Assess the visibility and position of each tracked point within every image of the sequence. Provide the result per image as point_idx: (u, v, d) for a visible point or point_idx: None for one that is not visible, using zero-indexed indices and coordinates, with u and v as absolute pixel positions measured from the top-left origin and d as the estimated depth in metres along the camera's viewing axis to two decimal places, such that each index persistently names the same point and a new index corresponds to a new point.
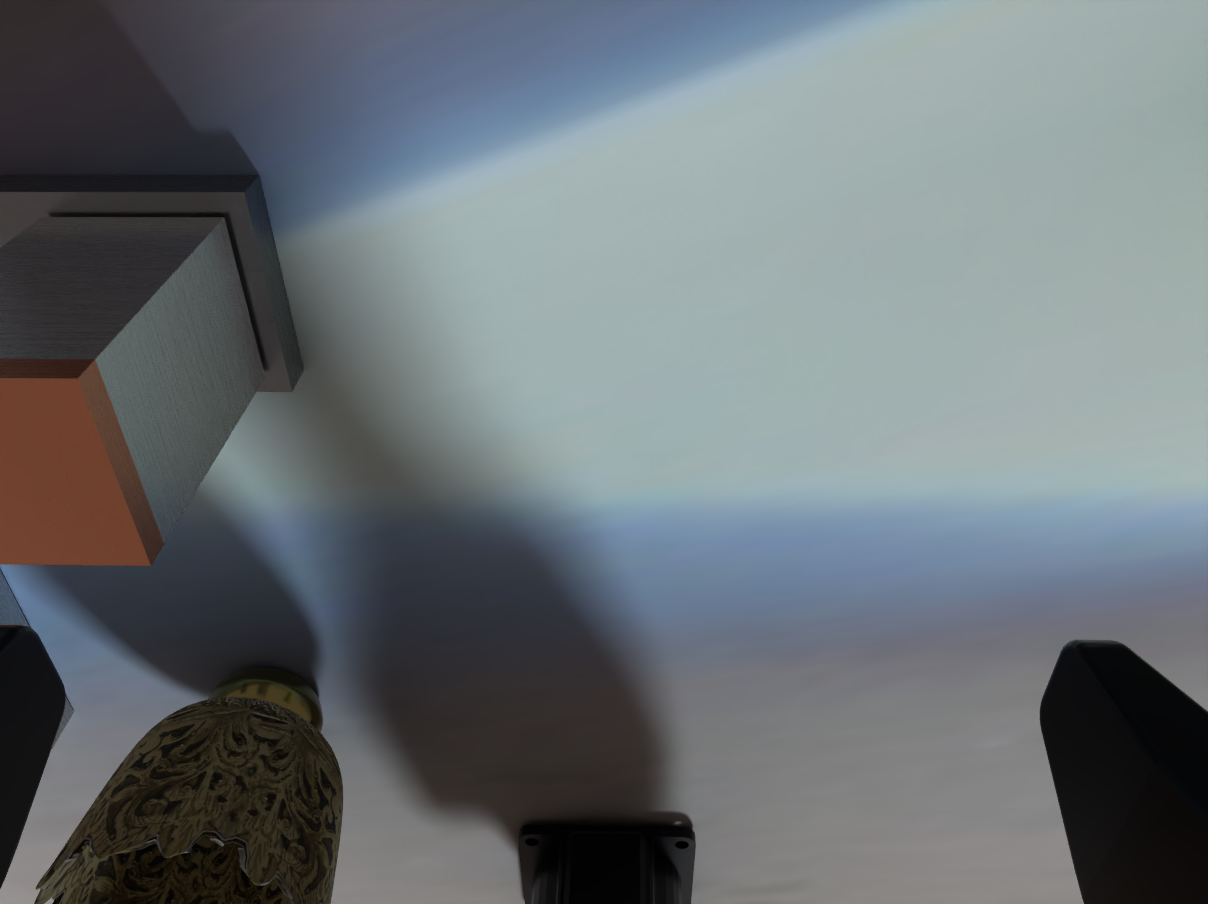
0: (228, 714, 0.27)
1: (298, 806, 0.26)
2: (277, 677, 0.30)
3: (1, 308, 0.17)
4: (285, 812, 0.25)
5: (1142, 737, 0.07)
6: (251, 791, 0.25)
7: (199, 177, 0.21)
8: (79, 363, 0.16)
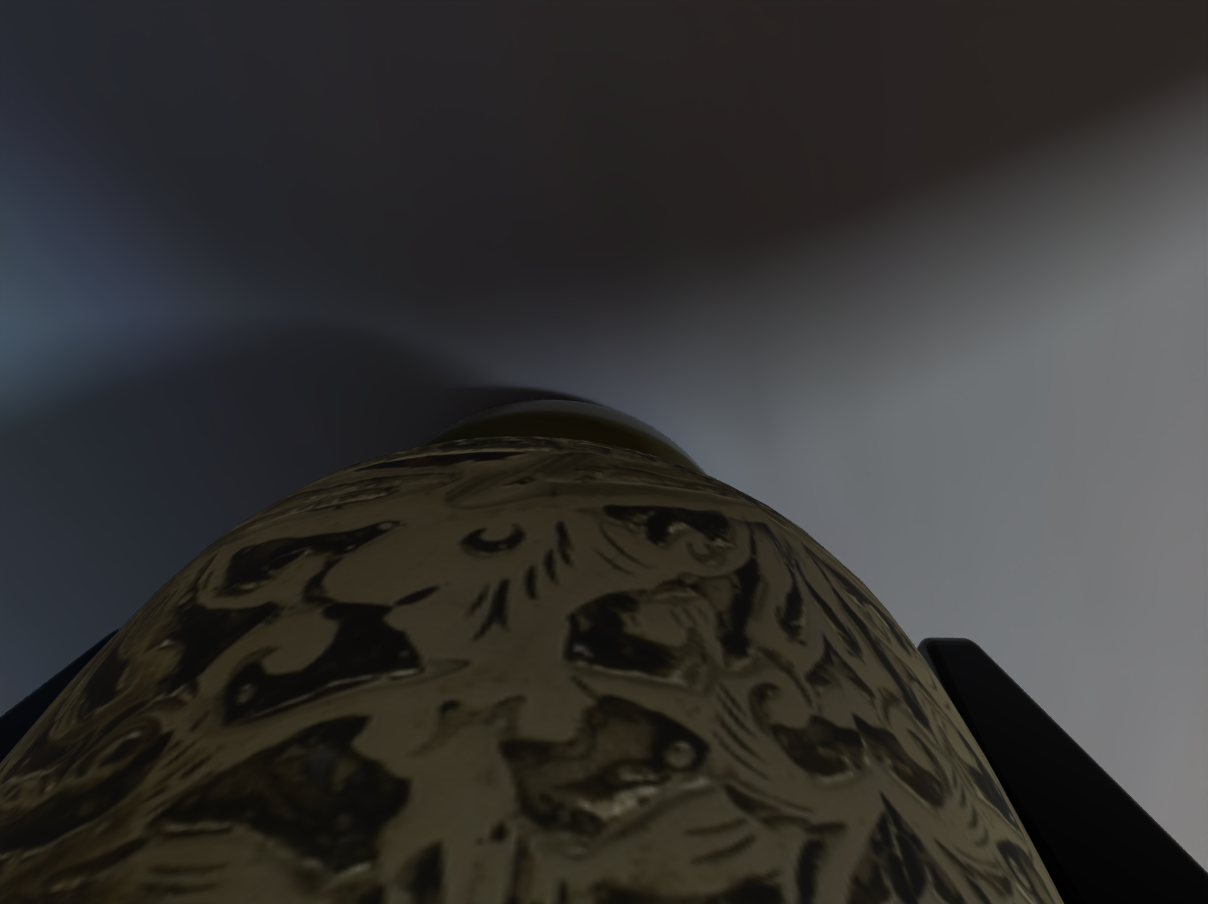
0: None
1: None
2: None
3: None
4: None
5: (972, 734, 0.07)
6: None
7: None
8: None
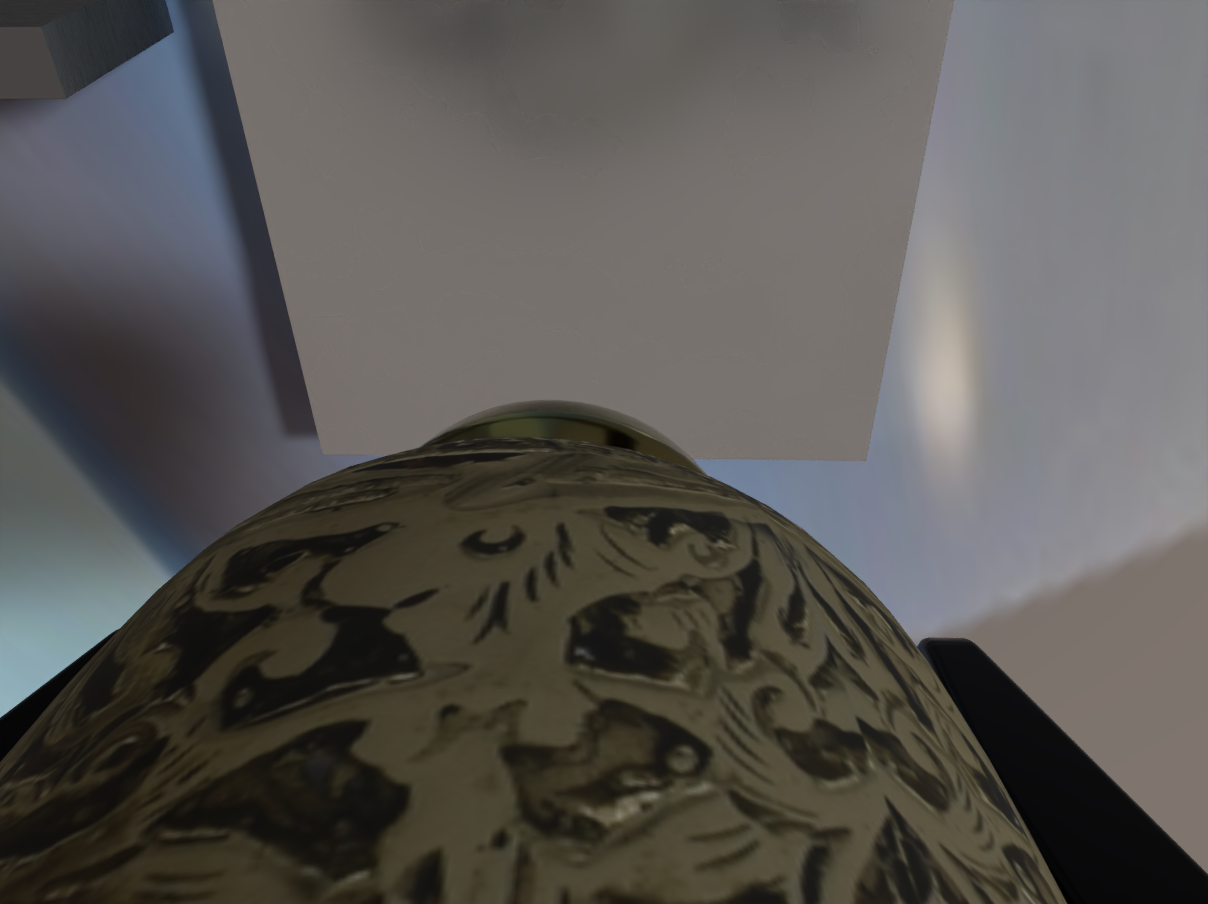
0: None
1: None
2: None
3: None
4: None
5: None
6: None
7: None
8: None
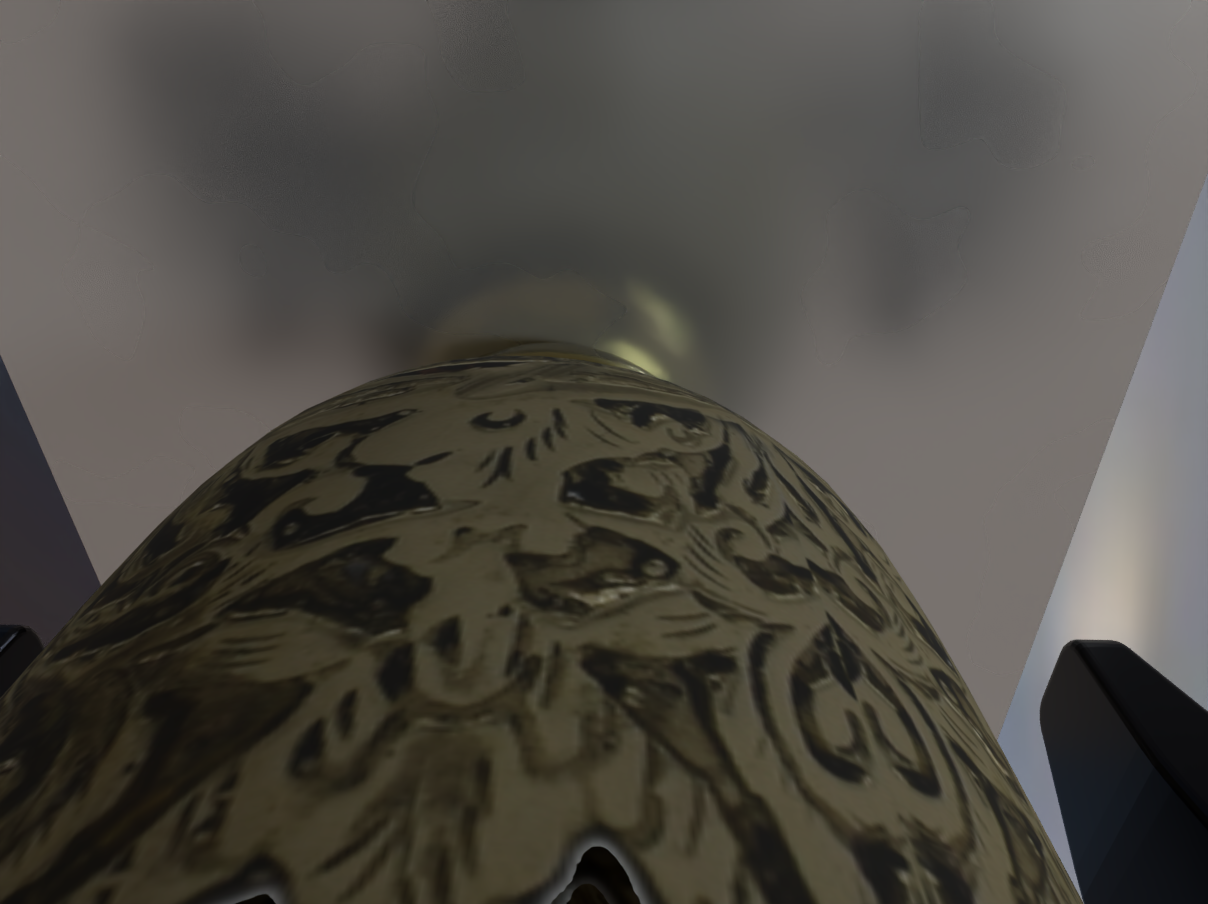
0: None
1: (73, 632, 0.05)
2: None
3: None
4: None
5: (1142, 737, 0.07)
6: None
7: None
8: None
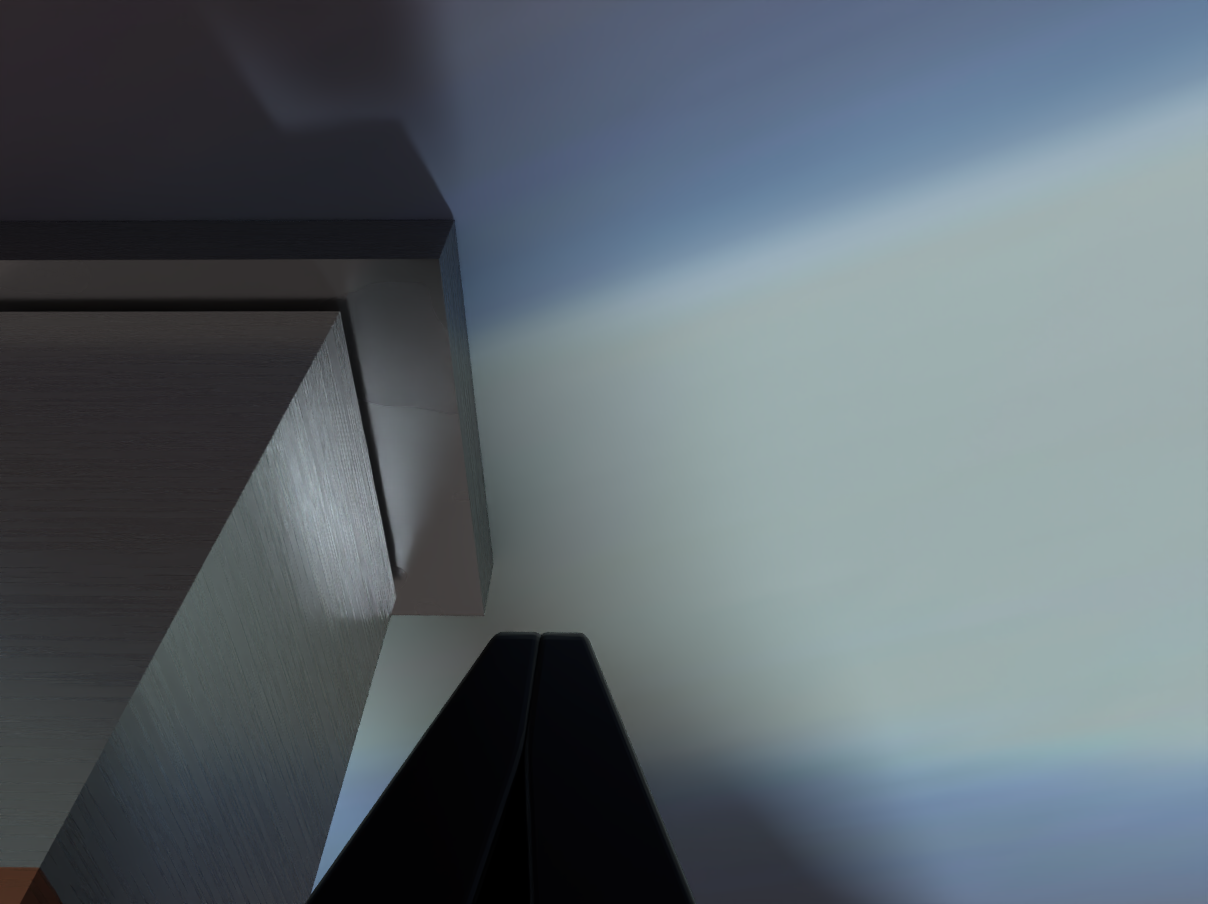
0: None
1: None
2: None
3: None
4: None
5: (532, 727, 0.07)
6: None
7: (332, 224, 0.10)
8: None
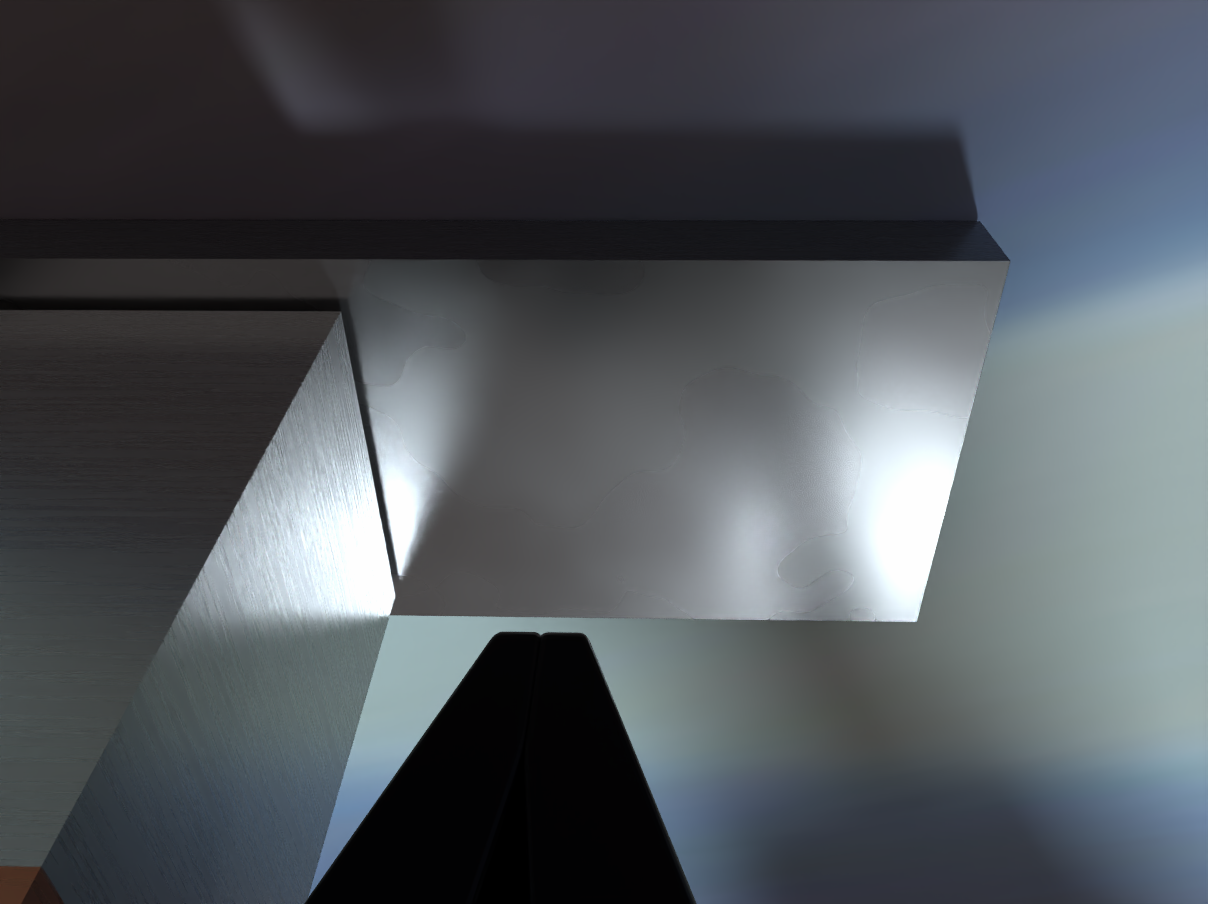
0: None
1: None
2: None
3: None
4: None
5: (532, 727, 0.07)
6: None
7: (860, 225, 0.10)
8: None
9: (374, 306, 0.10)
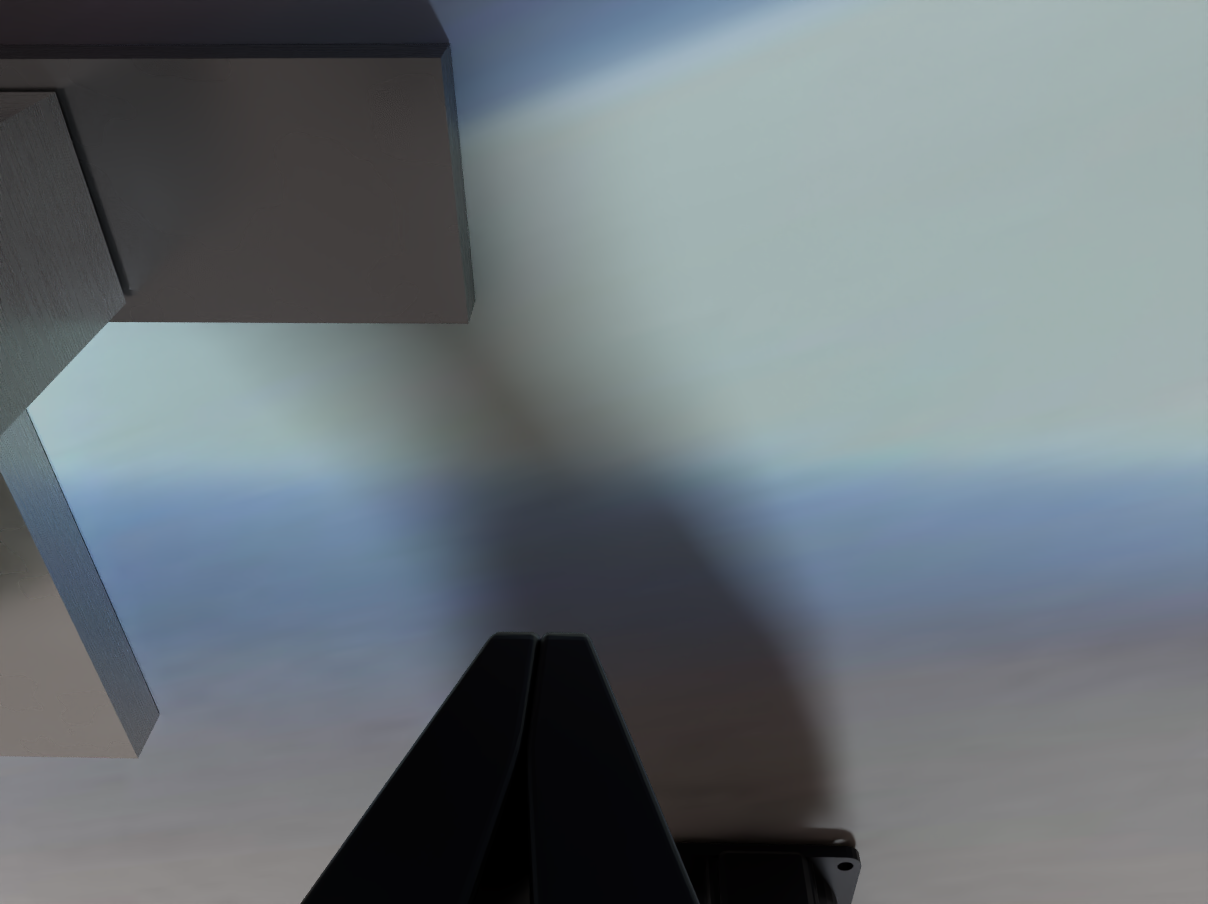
0: None
1: None
2: None
3: None
4: None
5: (535, 727, 0.07)
6: None
7: (375, 45, 0.17)
8: None
9: (78, 90, 0.16)
